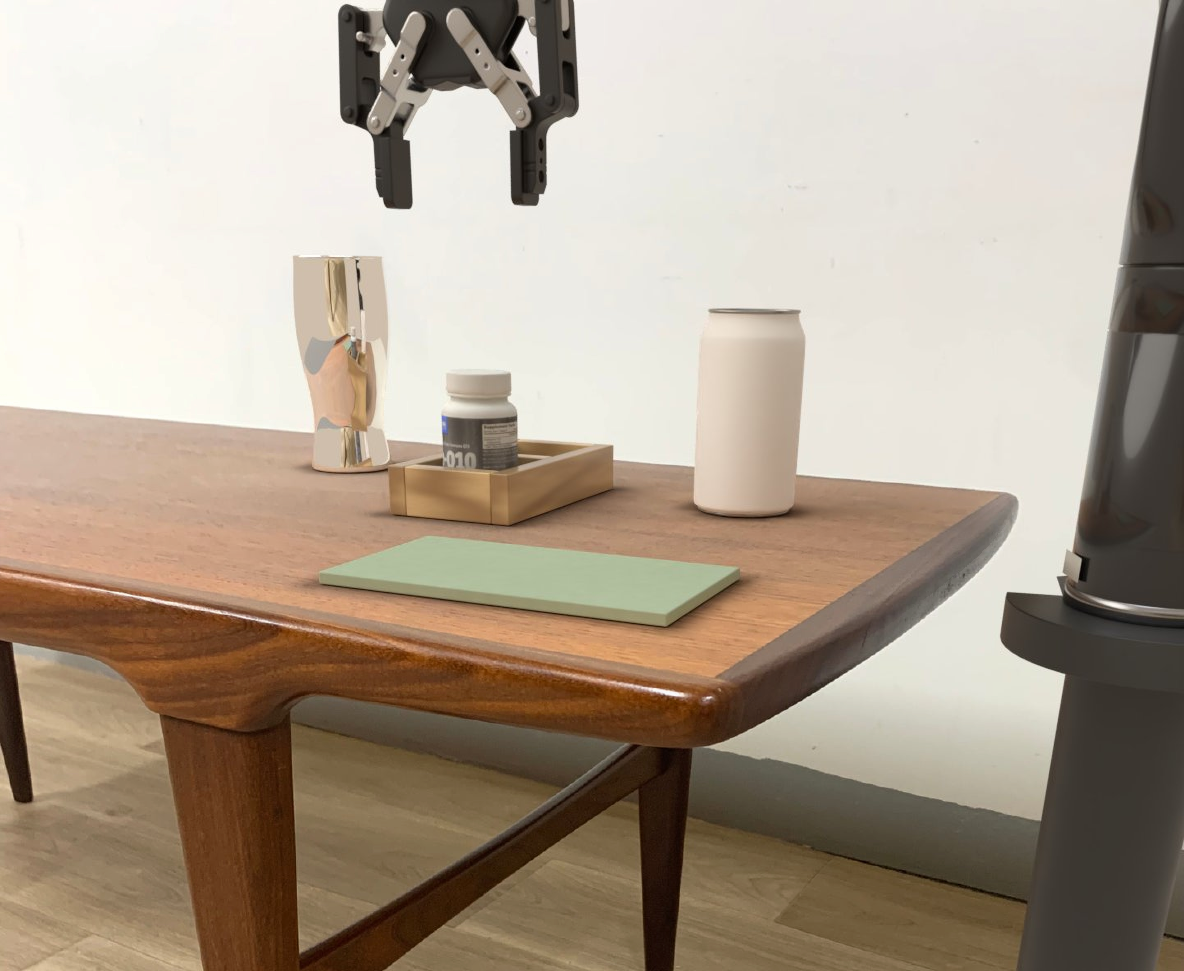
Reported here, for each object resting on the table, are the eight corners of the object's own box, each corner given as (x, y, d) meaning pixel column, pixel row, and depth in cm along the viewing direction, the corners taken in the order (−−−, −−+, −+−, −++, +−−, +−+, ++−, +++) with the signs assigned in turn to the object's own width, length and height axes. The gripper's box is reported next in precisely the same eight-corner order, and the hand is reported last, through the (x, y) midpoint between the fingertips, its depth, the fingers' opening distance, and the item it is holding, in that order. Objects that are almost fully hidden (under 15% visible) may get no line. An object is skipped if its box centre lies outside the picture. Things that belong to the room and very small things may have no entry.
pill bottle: (430, 508, 78) (424, 370, 75) (489, 500, 81) (486, 367, 78) (473, 518, 75) (468, 374, 72) (533, 510, 78) (532, 371, 74)
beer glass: (344, 458, 99) (330, 256, 93) (415, 464, 96) (405, 257, 90) (287, 469, 93) (268, 255, 87) (360, 476, 90) (346, 255, 84)
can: (683, 515, 77) (691, 310, 72) (703, 498, 82) (711, 307, 78) (786, 521, 75) (801, 311, 70) (799, 503, 81) (813, 309, 76)
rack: (613, 488, 86) (613, 444, 85) (508, 526, 73) (508, 474, 72) (508, 480, 89) (507, 437, 88) (390, 514, 76) (387, 465, 75)
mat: (739, 579, 60) (740, 567, 60) (666, 627, 52) (667, 613, 52) (428, 546, 67) (427, 535, 67) (318, 583, 59) (318, 571, 59)
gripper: (599, -126, 65) (597, 208, 72) (375, -96, 71) (392, 212, 77) (535, -170, 59) (540, 201, 65) (295, -133, 64) (320, 206, 71)
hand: (460, 207), depth 71 cm, fingers open, 8 cm apart
